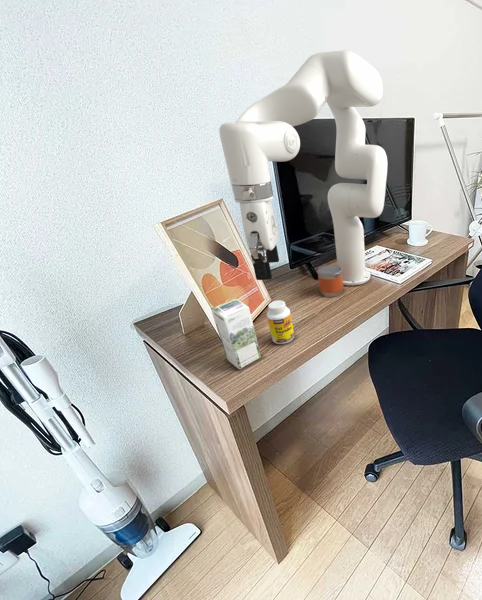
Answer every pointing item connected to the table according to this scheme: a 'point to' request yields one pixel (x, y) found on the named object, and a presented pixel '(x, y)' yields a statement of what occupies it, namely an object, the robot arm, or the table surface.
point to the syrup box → (236, 333)
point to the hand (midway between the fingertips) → (268, 270)
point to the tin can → (330, 280)
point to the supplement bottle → (280, 322)
